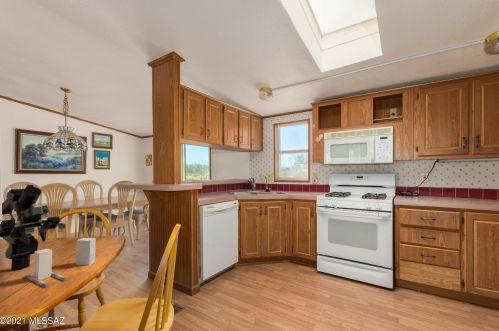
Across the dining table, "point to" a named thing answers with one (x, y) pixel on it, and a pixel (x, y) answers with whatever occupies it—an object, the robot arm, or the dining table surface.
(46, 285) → the track
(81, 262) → the skincare box
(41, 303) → the dining table surface
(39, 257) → the slider block
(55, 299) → the dining table surface
